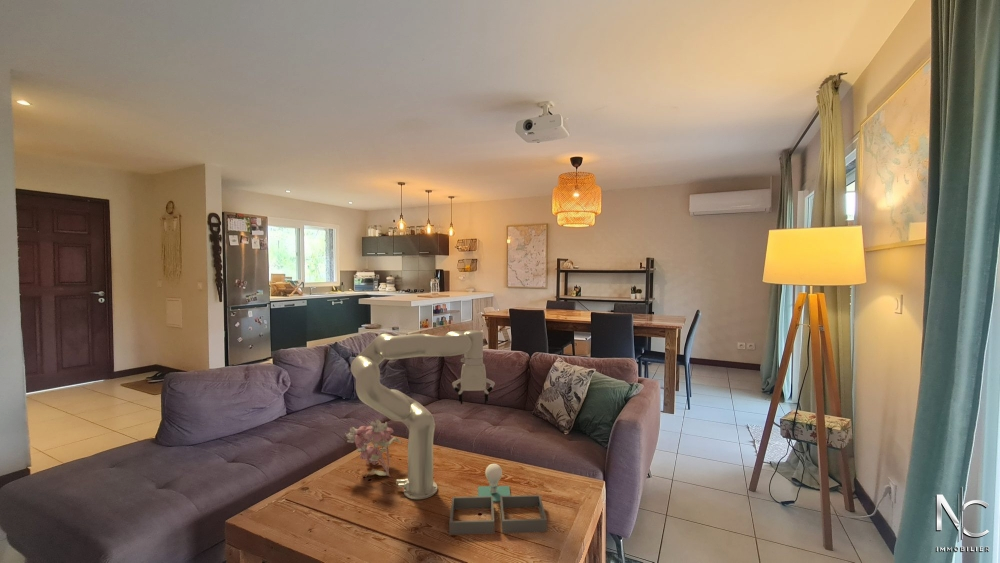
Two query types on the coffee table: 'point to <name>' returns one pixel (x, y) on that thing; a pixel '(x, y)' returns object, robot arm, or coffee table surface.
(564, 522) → the coffee table surface
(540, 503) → the box
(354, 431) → the flower
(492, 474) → the lightbulb
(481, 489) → the mat
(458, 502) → the box
